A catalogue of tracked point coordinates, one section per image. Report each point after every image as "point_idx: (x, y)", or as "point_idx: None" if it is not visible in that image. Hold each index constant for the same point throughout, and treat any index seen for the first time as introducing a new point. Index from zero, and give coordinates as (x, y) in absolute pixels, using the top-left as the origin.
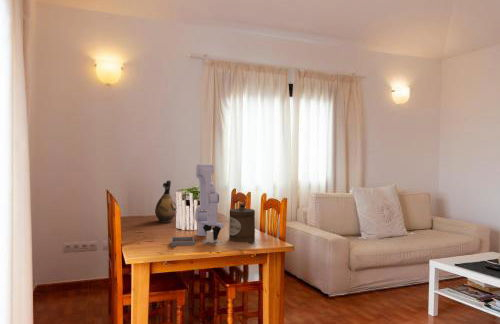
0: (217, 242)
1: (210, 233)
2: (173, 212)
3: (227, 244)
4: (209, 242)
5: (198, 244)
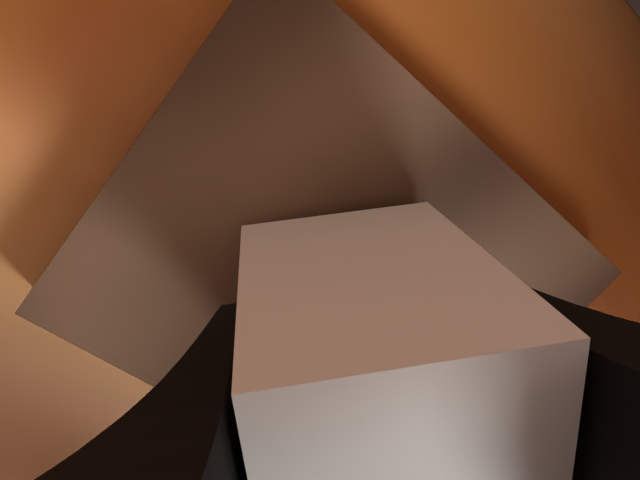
0: None
1: (342, 330)
2: None
3: None
4: None
5: (541, 77)
